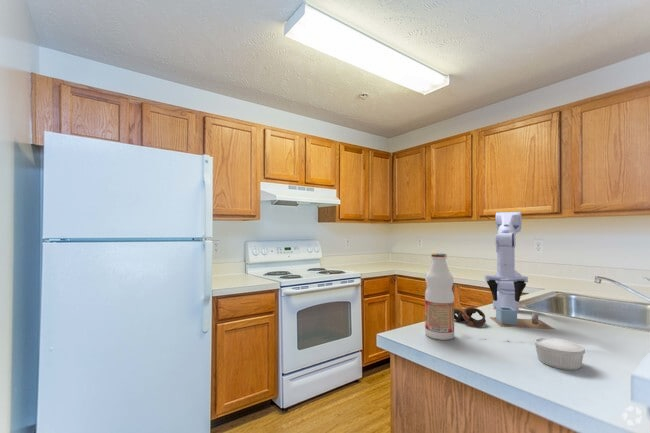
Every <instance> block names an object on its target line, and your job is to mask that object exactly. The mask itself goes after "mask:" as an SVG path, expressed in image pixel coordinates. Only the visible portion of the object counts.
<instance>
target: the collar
mask: <svg viewBox="0 0 650 433" xmlns="http://www.w3.org/2000/svg"><path fill="white" fill-rule="evenodd" d="M495 317H496V320H497V321H498V322H500V323H501V324H512V325H517V319H518V312H517V311H516V310H515V309H513V308H511V307H496V309H495Z"/></svg>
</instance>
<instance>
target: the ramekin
mask: <svg viewBox="0 0 650 433" xmlns="http://www.w3.org/2000/svg"><path fill="white" fill-rule="evenodd" d="M534 345H535V350H536V354H537V358H538V360H539V361H540V362H541V363H543V365H547V366H549V367H553V368H556V369H560V370H565V371H566V370H567V371H568V370H570V371H574V370H579V369H580V368H581V367H582V365H583V359H584V354H585V353H586V352H585V350H586V349H585V347H583V345H581V344H579V343H576V342H574V341H570V340H567V339H561V338H558V337H557V338H556V337H537V338H535V339H534Z"/></svg>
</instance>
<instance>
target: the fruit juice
mask: <svg viewBox="0 0 650 433" xmlns="http://www.w3.org/2000/svg"><path fill="white" fill-rule="evenodd" d="M447 256H448V255H447V253H443V252H433V253H431V258H432V260H431V264H430V267H429V269H428V272H427V273H426V274H425V279H424V280H425V284H426V289H425V292H424V327H425V328H424V331H425V335H426V336H427V337H428V338H431V339H435V340H441V341H447V340H452V339H454V337H455V319H454V309H455V294H454V292H453V285H454V277H453V274H452V273H451V271H450V269H449V267H448V263H447Z"/></svg>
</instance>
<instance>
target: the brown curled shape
mask: <svg viewBox="0 0 650 433" xmlns="http://www.w3.org/2000/svg"><path fill="white" fill-rule="evenodd" d="M476 313H478V314H479V316H481V317H482V318H481V319H476V318H473V317H472V316H473V314H476ZM454 321H456V322H458V323H459V322H460V321H465V322H466V323H467V327H470V328H482V327H484V325H485V324H486V322H487V320H486V315H485V313H484V312H483V310H481V309H479V308H476V307H473V306H468V307H465V308H464V309H463V310H461V309H458V308H454Z"/></svg>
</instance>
